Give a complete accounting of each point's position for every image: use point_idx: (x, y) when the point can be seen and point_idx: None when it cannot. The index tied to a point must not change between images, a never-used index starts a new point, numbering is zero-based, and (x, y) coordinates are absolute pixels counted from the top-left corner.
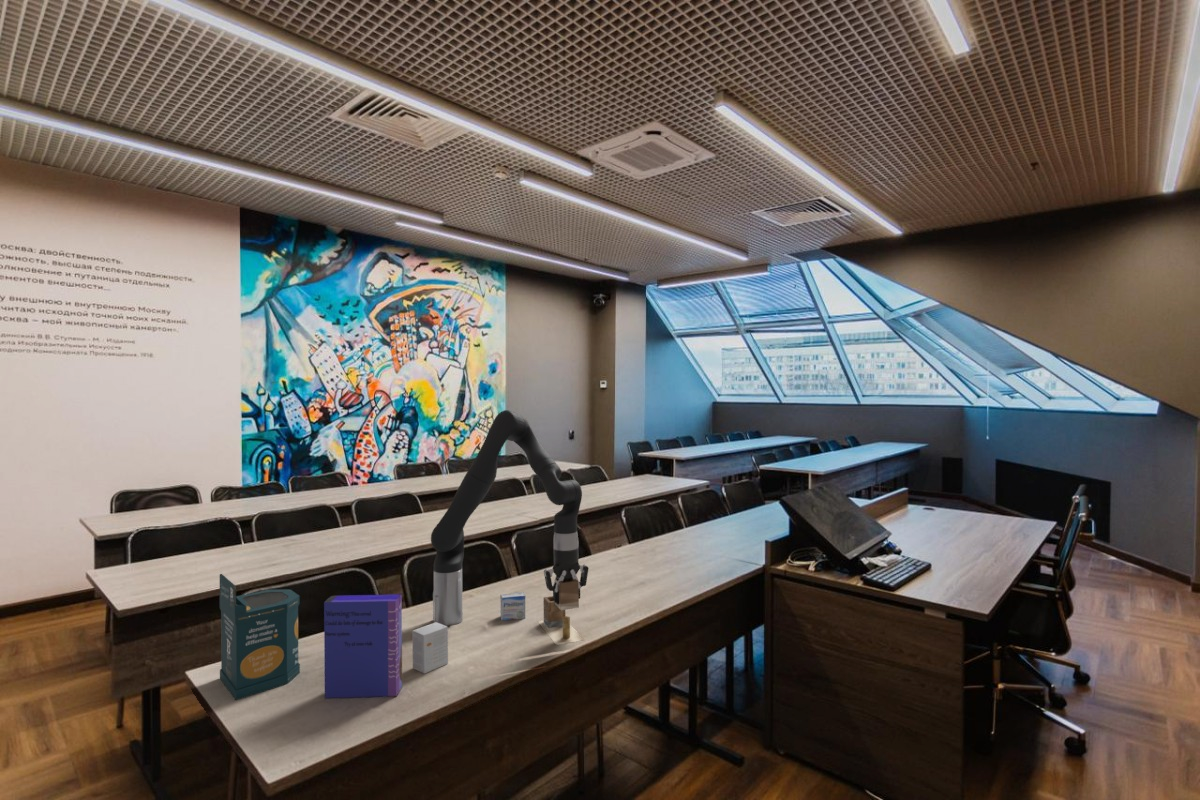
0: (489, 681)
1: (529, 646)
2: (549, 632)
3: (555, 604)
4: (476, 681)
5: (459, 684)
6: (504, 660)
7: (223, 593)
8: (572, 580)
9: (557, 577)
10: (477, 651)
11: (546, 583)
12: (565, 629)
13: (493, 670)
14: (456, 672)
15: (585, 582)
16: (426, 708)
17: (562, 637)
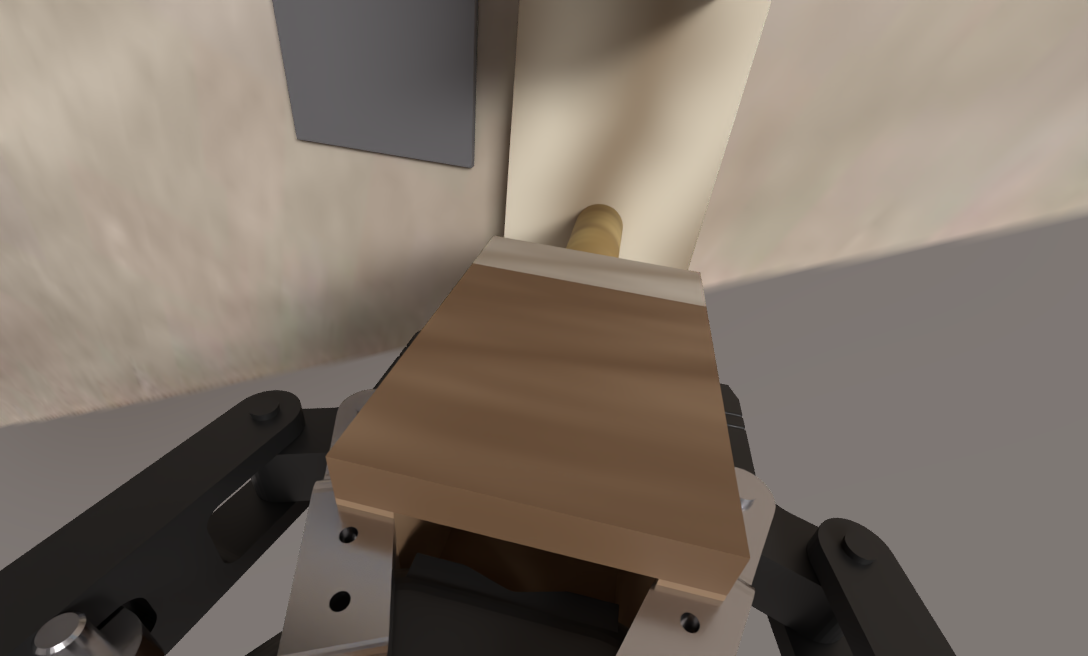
0: (205, 365)
1: (381, 162)
2: (535, 79)
3: (493, 240)
4: (160, 343)
5: (107, 330)
6: (249, 247)
7: None
8: (631, 611)
9: (336, 571)
10: (97, 63)
11: (185, 467)
12: None
13: (209, 304)
14: (65, 241)
15: (826, 650)
16: (56, 395)
17: (576, 215)
